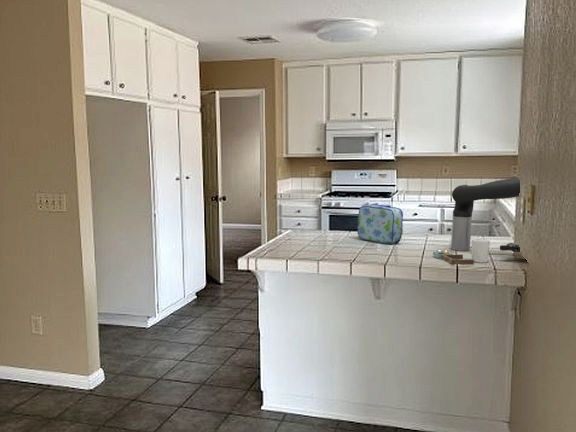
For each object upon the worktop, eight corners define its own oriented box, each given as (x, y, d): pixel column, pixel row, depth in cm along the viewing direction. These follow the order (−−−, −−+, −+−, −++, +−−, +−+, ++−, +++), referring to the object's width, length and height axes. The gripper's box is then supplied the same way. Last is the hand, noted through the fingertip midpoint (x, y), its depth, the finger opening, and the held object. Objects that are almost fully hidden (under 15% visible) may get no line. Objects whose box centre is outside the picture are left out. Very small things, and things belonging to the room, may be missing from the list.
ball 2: (441, 255, 248) (441, 249, 247) (447, 255, 248) (447, 249, 248) (443, 257, 245) (444, 250, 245) (450, 256, 245) (450, 250, 245)
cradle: (441, 259, 244) (441, 254, 244) (461, 258, 246) (462, 254, 245) (452, 264, 233) (452, 260, 232) (473, 264, 234) (474, 259, 234)
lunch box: (404, 243, 284) (406, 205, 281) (392, 246, 277) (394, 206, 274) (367, 237, 303) (368, 201, 300) (355, 239, 296) (356, 202, 293)
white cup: (484, 259, 245) (485, 238, 243) (491, 263, 237) (492, 241, 236) (467, 259, 244) (469, 238, 243) (474, 263, 237) (475, 241, 235)
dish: (432, 256, 251) (432, 251, 250) (446, 256, 252) (446, 251, 251) (438, 259, 244) (438, 254, 244) (452, 259, 245) (452, 254, 244)
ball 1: (435, 255, 250) (434, 249, 249) (441, 253, 250) (440, 247, 249) (438, 257, 247) (437, 251, 246) (444, 255, 247) (443, 250, 246)
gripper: (527, 237, 249) (493, 237, 247) (544, 241, 236) (508, 242, 234) (526, 252, 250) (492, 253, 248) (543, 258, 237) (507, 258, 235)
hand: (500, 247), depth 241 cm, fingers closed
